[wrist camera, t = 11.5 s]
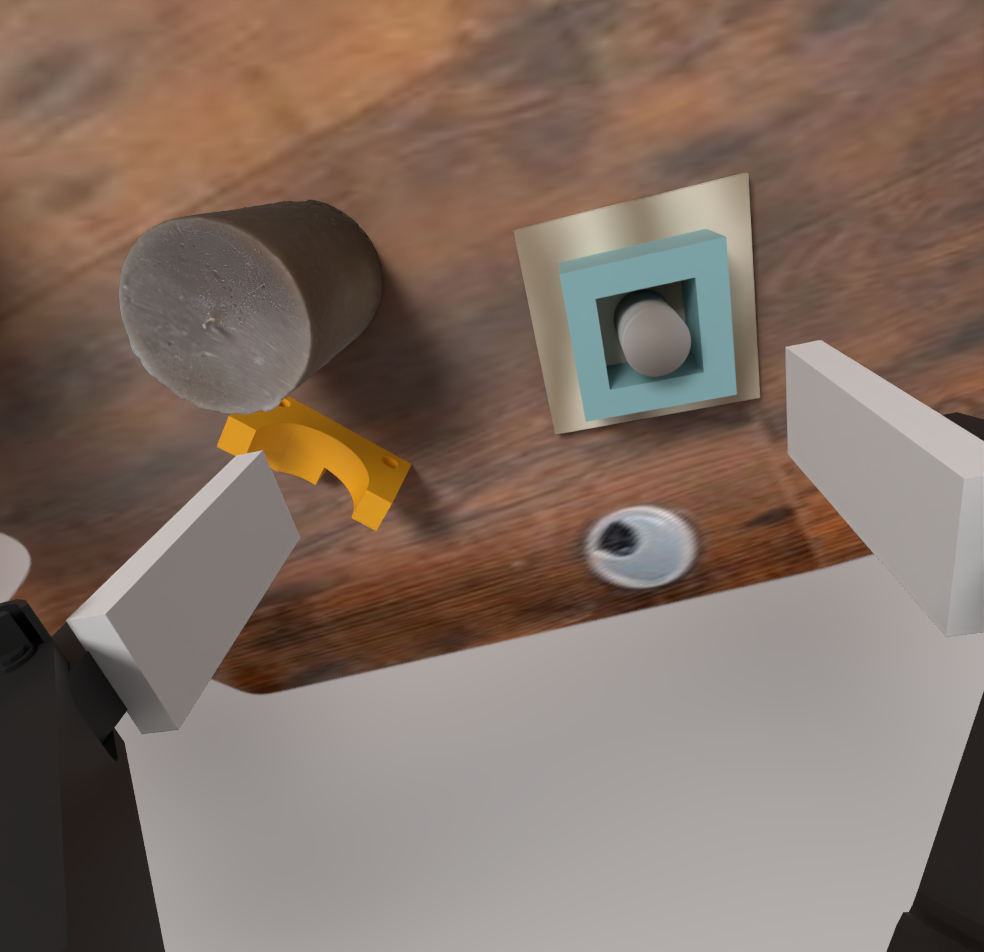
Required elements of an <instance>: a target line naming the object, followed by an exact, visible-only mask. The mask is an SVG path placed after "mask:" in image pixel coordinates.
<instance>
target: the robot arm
mask: <svg viewBox="0 0 984 952" xmlns="http://www.w3.org/2000/svg"><path fill="white" fill-rule="evenodd" d="M785 348H786V390H787V432H788V455H789V456H790V457H791V458H792V459H793V461H794V462H795V463H796V464H797V465H798V466H799V468H800V469H801V470H802V471H803V472H804V473H805V474H806V476H807V477H808V478H809V479H810V480H811V481H812V483H813V484H814V485H815V486H816V487H817V488H818V490H819V491H820V492H821V493H822V494H823V495H824V496H825V498H826V499H827V500H828V501H829V502H830V503H831V505H832V506H833V507H834V508H835V509H836V510H837V512H838V513H839V514H840V515H841V516H842V517H843V518H844V520H845V521H846V522H847V523H848V524H849V525H850V527H851V528H852V529H853V530H854V531H855V532H856V534H857V535H858V536H859V537H860V538H861V539H862V540H863V542H864V543H865V544H866V545H867V546H868V547H869V549H870V550H871V551H872V552H873V553H874V554H875V555H876V557H877V558H878V559H879V560H880V561H881V562H882V564H884V566H885V567H886V568H887V569H888V571H889V572H890V573H891V574H892V575H893V576H894V577H895V579H896V580H897V581H898V582H899V583H900V584H901V585H902V587H903V588H904V589H905V590H906V591H907V593H908V594H909V595H910V596H911V597H912V598H913V599H914V601H915V602H916V603H917V604H918V605H919V606H920V607H921V609H922V610H923V611H924V612H925V613H926V614H927V616H928V617H929V618H930V619H931V620H932V621H933V623H934V624H935V625H936V626H937V627H938V628H939V629H940V631H941V632H942V633H943V634H944V635H945V636H946V637H949V636H958V635H966V634H974V633H983V632H984V420H983V419H980V418H976V417H972V416H969V415H965V414H961V413H958V412H956V413H951V414H945V415H941V414H939V413H937V412H936V411H934V410H933V409H931V408H929V407H928V406H926V405H925V404H923V403H921V402H920V401H918V400H917V399H915V398H913V397H912V396H910V395H908V394H907V393H905V392H904V391H902V390H900V389H899V388H897V387H896V386H894V385H892V384H891V383H889V382H888V381H886V380H884V379H883V378H881V377H879V376H878V375H876V374H875V373H873V372H871V371H870V370H868V369H867V368H865V367H863V366H862V365H860V364H859V363H857V362H855V361H854V360H852V359H850V358H849V357H847V356H846V355H844V354H842V353H841V352H839V351H838V350H836V349H834V348H833V347H831V346H829V345H828V344H826V343H825V342H823V341H821V340H819V341H814V342H809V343H804V344H799V345H793V346H788V347H785ZM299 539H300V535H299V533H298V531H297V528H296V526H295V524H294V521H293V519H292V517H291V514H290V512H289V510H288V507H287V505H286V503H285V500H284V498H283V496H282V493H281V491H280V489H279V487H278V484H277V482H276V480H275V477H274V475H273V473H272V470H271V468H270V466H269V463H268V461H267V459H266V456H265V454H264V452H263V450H261V451H256V452H251V453H246V454H241V455H236V456H235V457H234V458H233V459H232V460H231V461H230V462H229V463H228V464H227V465H226V466H225V467H224V468H223V469H222V470H221V471H220V472H219V473H218V474H217V475H216V476H215V477H214V478H213V479H212V480H211V481H210V482H209V483H207V484H206V485H205V486H204V487H203V488H202V489H201V490H200V491H199V492H198V493H197V494H196V495H195V496H194V497H193V498H192V499H191V500H190V501H189V502H188V503H187V504H186V505H185V506H184V507H183V508H182V509H181V510H180V511H179V512H177V513H176V514H175V515H174V516H173V517H172V518H171V519H170V520H169V521H168V522H167V523H166V524H165V525H164V526H163V527H162V528H161V529H160V530H159V531H158V532H157V533H156V534H155V535H154V536H153V537H152V538H151V539H150V540H149V541H147V542H146V543H145V544H144V545H143V546H142V547H141V548H140V549H139V550H138V551H137V552H136V553H135V554H134V555H133V556H132V557H131V558H130V559H129V560H128V561H127V562H126V563H125V564H124V565H123V566H122V567H121V568H120V569H119V570H118V571H116V572H115V573H114V574H113V575H112V576H111V577H110V578H109V579H108V580H107V581H106V582H105V583H104V584H103V585H102V586H101V587H100V588H99V589H98V590H97V591H96V592H95V593H94V594H93V595H92V596H91V597H90V598H89V599H88V600H86V601H85V602H84V603H83V604H82V605H81V606H80V607H79V608H78V609H77V610H76V611H75V612H74V613H73V614H72V615H71V616H70V617H69V618H68V619H67V620H66V622H67V623H66V624H65V625H63V626H62V627H61V628H60V629H59V630H58V631H57V632H56V633H55V634H54V635H53V636H52V637H51V636H50V635H49V633H48V632H47V630H46V629H45V627H44V626H43V625H42V623H41V622H40V620H39V619H38V617H37V616H36V615H35V613H34V612H33V610H32V609H31V607H30V606H29V604H28V603H27V602H26V600H18V599H16V600H12V601H7V602H3V603H0V952H165V949H164V944H163V939H162V934H161V928H160V923H159V918H158V913H157V908H156V903H155V898H154V893H153V887H152V882H151V877H150V872H149V867H148V861H147V856H146V851H145V846H144V841H143V836H142V831H141V825H140V820H139V815H138V810H137V805H136V800H135V795H134V790H133V784H132V779H131V774H130V769H129V764H128V759H127V753H126V749H125V743H124V741H123V740H122V738H121V737H120V735H119V734H118V732H117V731H116V730H115V728H114V727H115V726H116V725H117V723H118V722H119V721H120V719H121V718H122V717H123V715H124V714H125V713H126V711H127V712H128V714H129V715H130V717H131V718H132V720H133V721H134V723H135V724H136V726H137V727H138V729H139V730H140V732H141V733H142V734H146V733H155V732H164V731H172V730H178V729H179V728H180V726H181V725H182V723H183V722H184V720H185V718H186V717H187V715H188V714H189V712H190V711H191V709H192V707H193V706H194V704H195V703H196V701H197V700H198V698H199V696H200V695H201V693H202V692H203V690H204V688H205V687H206V685H207V684H208V682H209V681H210V679H211V678H212V676H213V674H214V673H215V671H216V670H217V668H218V667H219V665H220V663H221V662H222V660H223V659H224V657H225V656H226V654H227V652H228V651H229V649H230V648H231V646H232V645H233V643H234V641H235V640H236V638H237V637H238V635H239V633H240V632H241V630H242V629H243V627H244V626H245V624H246V622H247V621H248V619H249V618H250V616H251V615H252V613H253V611H254V610H255V608H256V607H257V605H258V604H259V602H260V600H261V599H262V597H263V596H264V594H265V593H266V591H267V589H268V588H269V586H270V585H271V583H272V582H273V580H274V578H275V577H276V575H277V574H278V572H279V571H280V569H281V567H282V566H283V564H284V563H285V561H286V559H287V558H288V556H289V555H290V553H291V552H292V550H293V548H294V547H295V545H296V544H297V542H298V541H299ZM887 952H984V692H983V695H982V699H981V701H980V705H979V707H978V711H977V714H976V717H975V720H974V723H973V726H972V729H971V732H970V735H969V738H968V741H967V744H966V747H965V750H964V753H963V756H962V759H961V762H960V765H959V768H958V771H957V774H956V777H955V780H954V783H953V786H952V789H951V792H950V795H949V798H948V801H947V804H946V807H945V810H944V813H943V816H942V819H941V822H940V825H939V828H938V831H937V835H936V837H935V840H934V843H933V847H932V849H931V852H930V855H929V858H928V861H927V864H926V867H925V870H924V873H923V876H922V880H921V882H920V886H919V889H918V891H917V894H916V897H915V900H914V902H913V905H912V907H911V909H910V911H909V912H903V914H902V916H901V918H900V920H899V922H898V924H897V926H896V928H895V931H894V934H893V936H892V939H891V942H890V944H889V947H888V949H887Z"/></svg>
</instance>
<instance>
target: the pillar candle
mask: <svg viewBox="0 0 984 952" xmlns="http://www.w3.org/2000/svg"><path fill="white" fill-rule="evenodd" d="M381 295H382V275H381V267H380V263H379V260H378V257H377V254H376V251H375V249H374V247H373V246H372V243H371V241H370V240H369V238H368V237H367V235H366V234H365V233H364V231H363V230H362V229H361V228H360V227H358V224H356V223H355V221H354V220H352V219H351V218H350V217H349V216H347V215H346V214H345V213H343V212H342V211H340V210H338V209H336V208H335V207H332V206H330V205H328V204H326V203H323V202H319V201H316V200H308V201H305V202H293V201H287V202H285V201H283V202H278V203H274V204H265V205H259V206H252V207H248V208H247V207H245V208H242V209H236V210H229V211H221V212H213V213H206V214H198V215H191V216H185V217H180V218H174V219H171V220H168V221H165V222H163V223H160V224H158V225H157V226H155V227H153V228H151V229H150V230H148V231H147V232H146V233H145V234H143V235H142V236H141V237H140V238H139V239H138V240H137V241H136V242H135V244H134V245H133V247H132V248H131V250H130V251H129V253H128V255H127V258H126V260H125V262H124V264H123V267H122V270H121V277H120V289H119V296H120V297H119V299H120V311H121V315H122V320H123V323H124V326H125V328H126V332H127V334H128V336H129V339H130V342H131V344H130V345H131V349H132V350H133V352H134V353H135V354H136V356H137V357H139V358H140V359H141V363H142V364H143V366H144V367H145V368H146V370H147V371H148V372H149V373H150V374H151V375H152V376H155V377H156V378H157V380H158V382H161V383H163V384H164V385H165V386H167V387H168V388H170V389H171V390H172V391H173V392H174V393H176V394H177V396H178V397H180V398H181V399H182V400H184V399H187V400H188V401H190V402H192V403H193V404H194V405H195V406H197V407H199V408H205V409H209V410H212V411H218V412H221V413H222V414H251V413H255V412H259V411H261V410H263V411H265V412H267V411H268V410H273V409H274V408H276V407H277V406H279V404H280V403H281V400H283V399H285V398H286V397H287V396H288V395H289V394H290V393H291V392H292V391H294V390H295V389H296V388H297V387H299V386H300V385H301V384H302V383H303V382H305V381H306V380H307V379H308V378H309V377H311V376H312V375H313V374H315V373H316V372H317V371H318V370H319V369H320V368H322V367H323V366H324V365H325V364H327V363H328V362H329V361H330V360H331V359H332V358H333V357H334V356H335V355H336V354H338V353H339V352H340V351H342V350H343V349H344V348H345V347H346V346H347V345H349V344H350V343H351V342H352V341H353V340H355V339H356V338H357V337H359V335H360V334H361V333H362V332H363V331H364V330H365V329H366V328H367V326H368V325H369V324H370V322H371V321H372V319H373V318H374V316H375V313H376V311H377V308H378V306H379V304H380V303H381V298H382V297H381Z"/></svg>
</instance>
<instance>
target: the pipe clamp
mask: <svg viewBox="0 0 984 952" xmlns="http://www.w3.org/2000/svg"><path fill="white" fill-rule="evenodd" d="M217 447H219V448H221V449H223V450H225V451H227V452H228V453H230V454H232V455H234V456H236V455H241V454H246V453H251V452H256V451H261V450H263V452H264V454H265V456H266V459H267V461H268V463H269V466H270V468H271V469H273V470H275V471H280V472H285V473H289V474H292V475H295V476H298V477H301V478H303V479H305V480H307V481H309V482H311V483H313V484H315V485H316V484H317V482H318V481H319V480H320V478H321V477H322V476H323V475H324V473H325V472H326V470H329V471H330V472H332V473H333V474H334V475H335V476H337V477H338V478H339V479H340V480H341V481H342V482H343V483H344V485H345V486H346V487H347V489H348V490H349V492H350V494H351V496H352V498H353V502H354V512H353V515H352V517H351V518H353V519H355V520H357V521H359V522H360V523H362V524H364V525H366V526H368V527H370V528H372V529H374V530H377V528H378V527H379V525H380V523H381V522H382V520H383V518H384V516H385V515H386V513H387V511H388V510H389V508H390V506H391V504H392V503H393V501H394V499H395V497H396V495H397V493H398V491H399V489H400V487H401V485H402V483H403V481H404V479H405V477H406V475H407V473H408V471H409V469H410V467H411V465H412V464H411V463H409V462H407V461H405V460H403V459H402V458H400V457H398V456H396V455H394V454H392V453H391V452H389V451H387V450H385V449H383V448H382V447H380V446H378V445H376V444H374V443H373V442H371V441H369V440H367V439H365V438H363V437H362V436H360V435H358V434H356V433H354V432H353V431H351V430H349V429H347V428H345V427H344V426H342V425H340V424H338V423H336V422H334V421H333V420H331V419H329V418H327V417H325V416H324V415H322V414H320V413H318V412H316V411H315V410H313V409H311V408H309V407H307V406H306V405H304V404H302V403H300V402H298V401H296V400H295V399H293V398H291V397H289V396H287V397H286V398H285V399H283V400H281V403H280V404H279V406H277V407H276V408H274V409H273V410H268V411H267V412H265V411H263V410H261V411H259V412H255V413H251V414H230V415H229V417H228V419H227V422H226V424H225V427H224V429H223V432H222V434H221V437H220V440H219V442H218V445H217Z"/></svg>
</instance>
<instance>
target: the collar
mask: <svg viewBox="0 0 984 952" xmlns="http://www.w3.org/2000/svg"><path fill="white" fill-rule="evenodd" d="M559 275H560V281H561V286H562V292H563V297H564V303H565V309H566V314H567V320H568V325H569V331H570V336H571V342H572V348H573V353H574V359H575V364H576V370H577V376H578V381H579V387H580V392H581V398H582V403H583V409H584V415H585V420H586V422H588V421H593V420H599V419H604V418H610V417H615V416H621V415H626V414H632V413H638V412H643V411H649V410H654V409H660V408H665V407H671V406H676V405H682V404H688V403H693V402H699V401H704V400H710V399H715V398H721V397H726V396H732V395H737V389H736V374H735V359H734V345H733V330H732V315H731V300H730V285H729V270H728V255H727V240H726V236H723V235H721V234H718V233H716V232H713V231H711V230H708V229H703V230H698V231H694V232H690V233H685V234H681V235H677V236H672V237H668V238H663V239H659V240H655V241H650V242H646V243H642V244H637V245H633V246H629V247H624V248H620V249H616V250H611V251H607V252H603V253H598V254H594V255H590V256H585V257H581V258H576V259H572V260H568V261H563V262H559ZM676 281H681V285H682V295H683V305H684V315H685V324H686V325H687V327H688V329H689V332H690V336H691V347H690V351H689V354H688V356H687V358H686V359H685V361H684V362H683V363H682V365H681V366H680V367H678V368H677V369H676V370H675V371H673V372H671V373H669V374H667V375H663V376H658V377H651V376H645V375H642V374H640V373H638V372H637V371H635V370H634V369H633V368H632V367H631V366H630V365H629V363H628V362H624V363H619V364H614V365H609V366H606V362H605V356H604V349H603V343H602V337H601V330H600V324H599V318H598V311H597V305H596V299H598V298H602V297H607V296H612V295H616V294H621V293H625V292H630V291H635V290H639V289H644V288H649V287H653V286H658V285H662V284H667V283H672V282H676Z"/></svg>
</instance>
